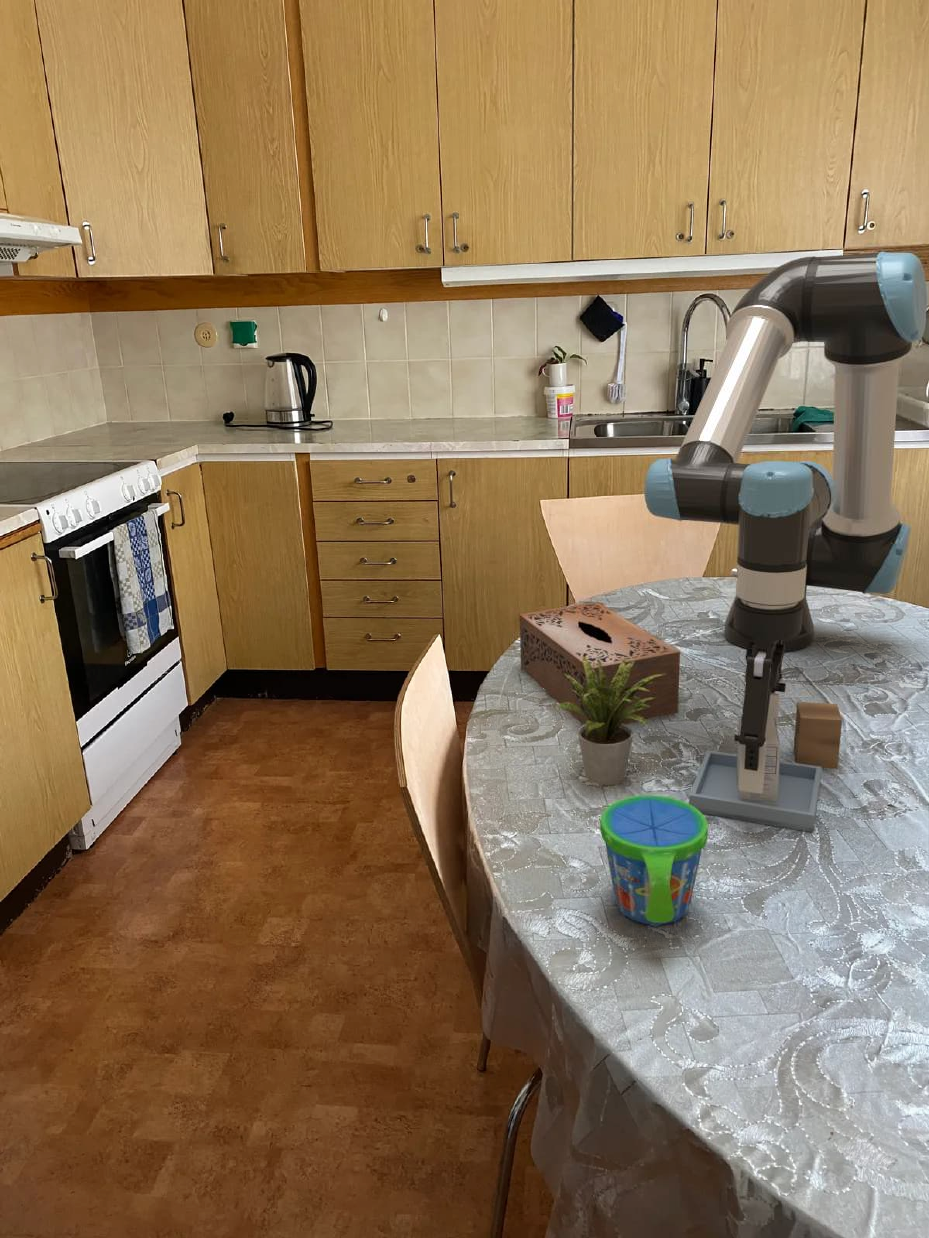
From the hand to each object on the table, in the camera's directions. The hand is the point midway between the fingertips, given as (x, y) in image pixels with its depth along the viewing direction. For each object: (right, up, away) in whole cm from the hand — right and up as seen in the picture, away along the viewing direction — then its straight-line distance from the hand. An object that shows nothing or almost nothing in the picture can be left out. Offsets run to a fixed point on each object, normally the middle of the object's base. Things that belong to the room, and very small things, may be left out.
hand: (758, 764), depth 115 cm
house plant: (-17, -3, +7) cm, 19 cm away
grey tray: (0, -4, +1) cm, 4 cm away
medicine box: (0, -4, +1) cm, 4 cm away
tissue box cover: (-15, +6, +34) cm, 38 cm away
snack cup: (-17, -12, -18) cm, 27 cm away
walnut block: (+11, -1, +10) cm, 15 cm away
